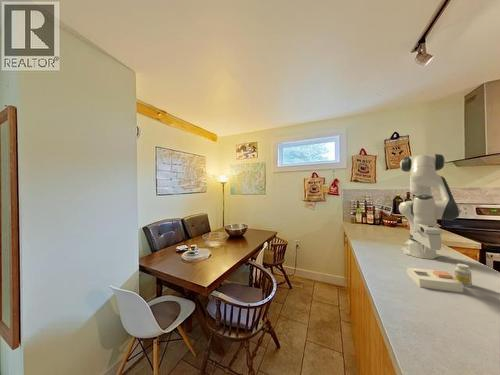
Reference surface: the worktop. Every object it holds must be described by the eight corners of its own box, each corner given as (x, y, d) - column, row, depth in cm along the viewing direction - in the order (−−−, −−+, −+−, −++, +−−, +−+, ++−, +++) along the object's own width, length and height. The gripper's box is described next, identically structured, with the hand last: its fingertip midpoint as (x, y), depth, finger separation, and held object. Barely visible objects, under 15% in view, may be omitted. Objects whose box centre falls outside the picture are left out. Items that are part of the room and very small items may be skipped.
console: (407, 274, 104) (407, 267, 104) (444, 278, 99) (444, 271, 99) (419, 286, 91) (419, 278, 91) (463, 292, 86) (462, 283, 86)
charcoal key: (414, 277, 100) (414, 272, 100) (426, 279, 98) (426, 273, 98) (419, 282, 95) (418, 276, 95) (431, 283, 93) (431, 277, 93)
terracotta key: (433, 275, 97) (433, 270, 97) (445, 277, 95) (445, 271, 95) (439, 280, 92) (438, 274, 92) (452, 281, 90) (452, 275, 90)
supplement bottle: (465, 287, 89) (464, 267, 90) (452, 282, 95) (451, 263, 95) (475, 286, 90) (474, 267, 90) (461, 281, 95) (460, 262, 95)
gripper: (408, 222, 107) (409, 246, 107) (426, 230, 88) (427, 259, 88) (422, 223, 105) (423, 247, 105) (444, 231, 86) (445, 261, 86)
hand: (425, 253), depth 96 cm, fingers closed
